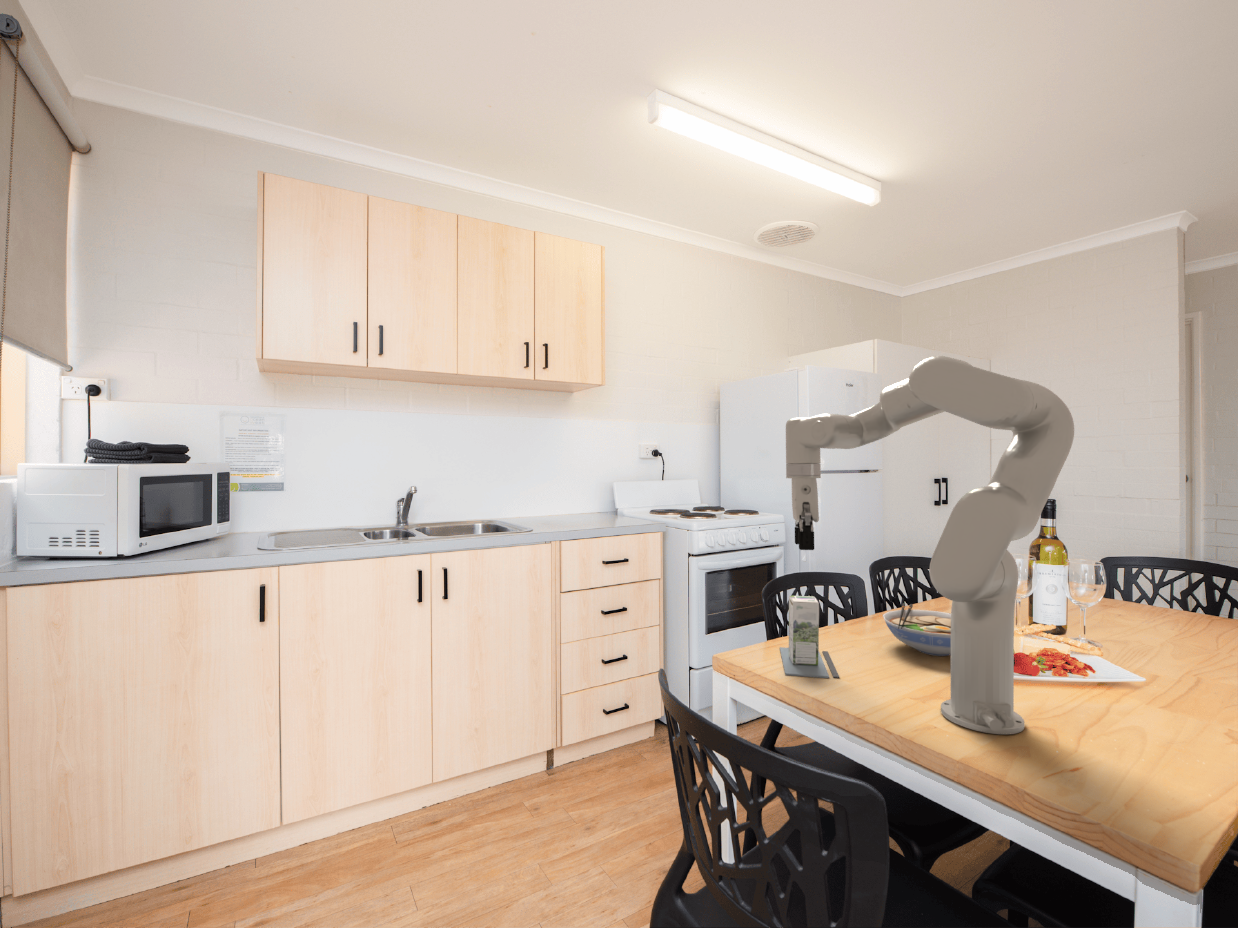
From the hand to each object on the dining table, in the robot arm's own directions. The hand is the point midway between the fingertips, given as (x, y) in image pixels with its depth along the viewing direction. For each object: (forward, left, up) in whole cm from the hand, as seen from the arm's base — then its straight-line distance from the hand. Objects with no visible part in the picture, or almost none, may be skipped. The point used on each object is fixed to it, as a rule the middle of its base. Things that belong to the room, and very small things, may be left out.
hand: (804, 546), depth 132 cm
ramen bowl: (+15, -32, -27) cm, 44 cm away
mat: (0, 0, -27) cm, 27 cm away
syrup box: (0, 0, -26) cm, 26 cm away
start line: (0, -6, -27) cm, 27 cm away
